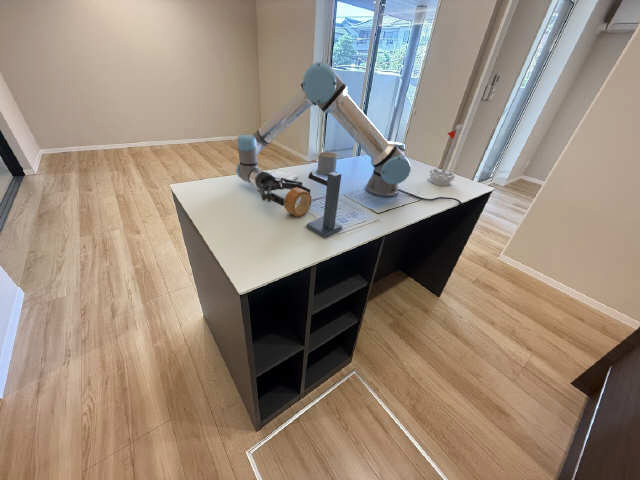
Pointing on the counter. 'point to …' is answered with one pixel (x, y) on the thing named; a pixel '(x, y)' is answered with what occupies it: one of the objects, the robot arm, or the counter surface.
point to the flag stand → (443, 176)
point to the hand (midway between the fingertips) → (297, 197)
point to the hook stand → (327, 206)
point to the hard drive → (283, 175)
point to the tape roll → (292, 199)
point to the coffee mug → (327, 163)
